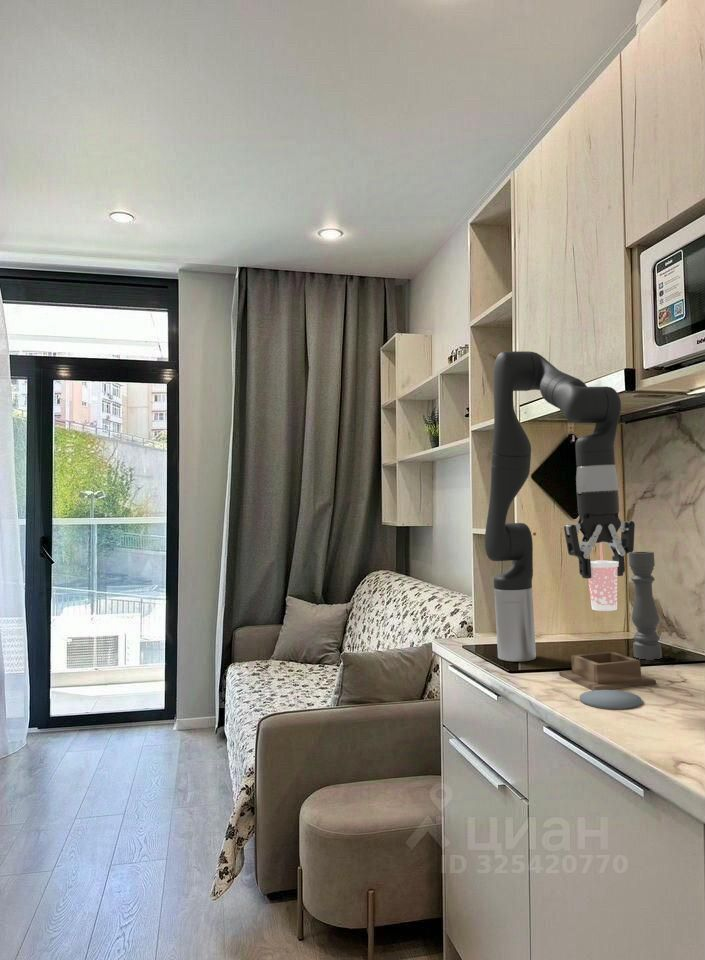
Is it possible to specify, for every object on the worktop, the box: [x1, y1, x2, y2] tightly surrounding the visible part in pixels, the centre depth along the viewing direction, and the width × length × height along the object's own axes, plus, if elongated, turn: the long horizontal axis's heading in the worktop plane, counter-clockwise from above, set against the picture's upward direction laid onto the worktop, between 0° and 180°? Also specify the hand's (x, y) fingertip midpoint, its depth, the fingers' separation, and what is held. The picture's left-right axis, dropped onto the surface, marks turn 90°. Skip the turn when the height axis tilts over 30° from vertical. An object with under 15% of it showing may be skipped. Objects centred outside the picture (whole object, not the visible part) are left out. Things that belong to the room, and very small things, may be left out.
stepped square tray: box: [558, 651, 657, 691], centre depth 145 cm, size 14×14×4 cm
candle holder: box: [628, 551, 663, 661], centre depth 163 cm, size 6×6×25 cm
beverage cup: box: [587, 542, 619, 612], centre depth 131 cm, size 6×6×14 cm
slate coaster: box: [579, 689, 643, 710], centre depth 130 cm, size 11×11×1 cm
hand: (602, 576), depth 131 cm, fingers closed on beverage cup, 6 cm apart
